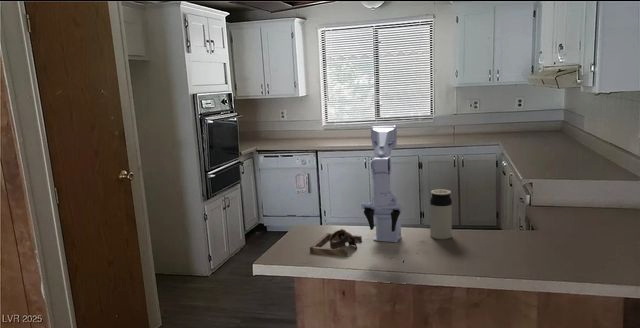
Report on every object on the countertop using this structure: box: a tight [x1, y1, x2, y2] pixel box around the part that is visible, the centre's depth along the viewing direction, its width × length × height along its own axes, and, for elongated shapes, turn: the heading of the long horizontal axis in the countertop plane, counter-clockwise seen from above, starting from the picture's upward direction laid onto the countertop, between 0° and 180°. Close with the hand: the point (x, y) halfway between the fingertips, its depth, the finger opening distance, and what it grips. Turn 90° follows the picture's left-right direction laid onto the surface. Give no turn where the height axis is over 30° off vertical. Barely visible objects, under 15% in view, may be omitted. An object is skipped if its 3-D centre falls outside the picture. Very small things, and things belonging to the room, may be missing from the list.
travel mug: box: [429, 188, 453, 240], centre depth 181 cm, size 8×8×18 cm
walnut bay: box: [309, 232, 363, 257], centre depth 176 cm, size 14×17×2 cm
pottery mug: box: [329, 228, 358, 250], centre depth 174 cm, size 12×10×8 cm
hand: (382, 229), depth 164 cm, fingers open, 7 cm apart
